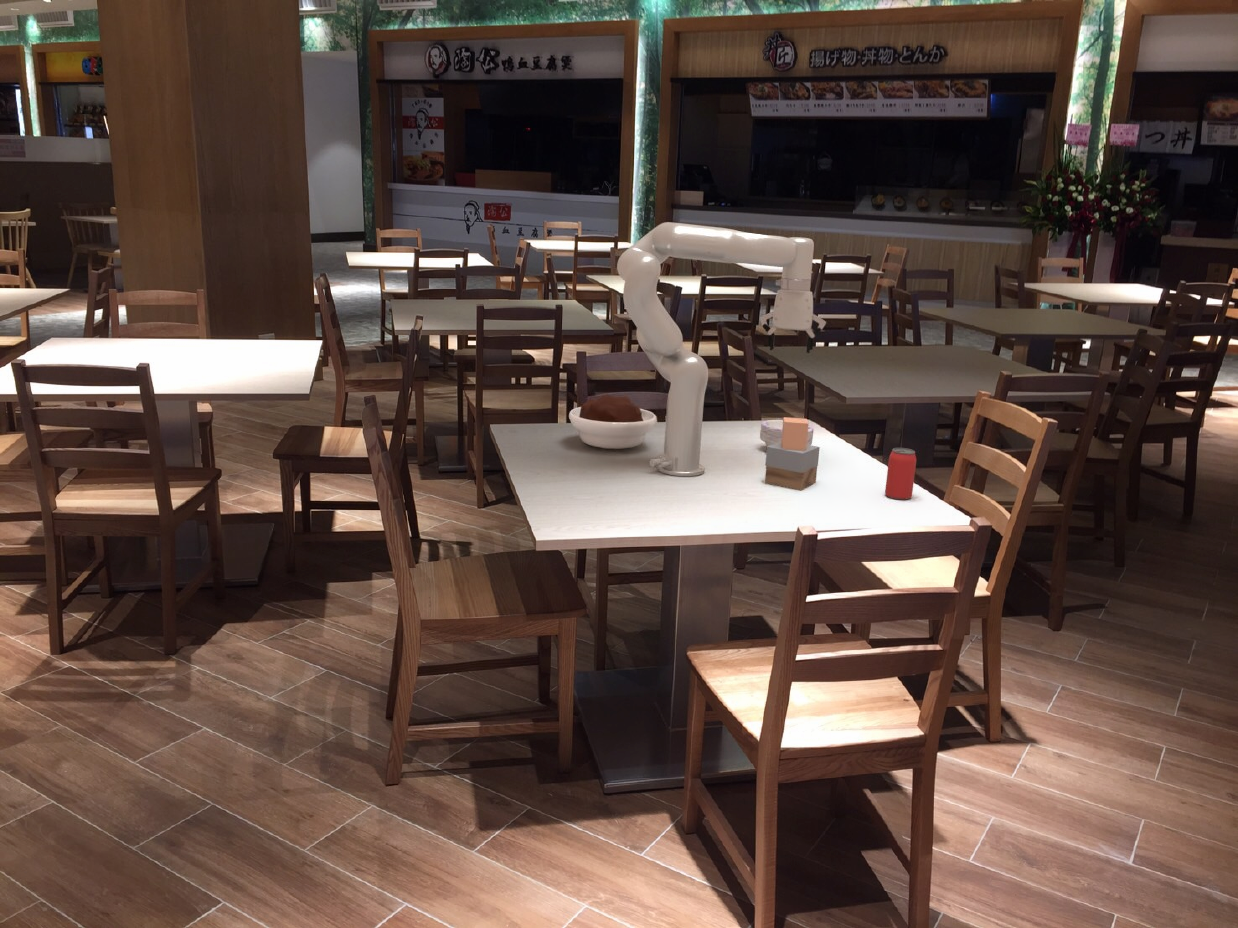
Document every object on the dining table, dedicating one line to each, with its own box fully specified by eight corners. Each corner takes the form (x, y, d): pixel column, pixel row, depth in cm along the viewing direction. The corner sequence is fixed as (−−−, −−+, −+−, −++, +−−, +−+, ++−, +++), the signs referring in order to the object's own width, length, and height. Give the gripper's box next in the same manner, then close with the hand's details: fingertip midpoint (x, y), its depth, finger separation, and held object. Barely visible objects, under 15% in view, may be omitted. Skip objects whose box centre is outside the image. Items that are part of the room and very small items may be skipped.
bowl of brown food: (610, 432, 313) (613, 383, 309) (672, 448, 296) (675, 397, 293) (550, 443, 296) (551, 391, 292) (611, 461, 279) (614, 406, 275)
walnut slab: (801, 492, 259) (803, 472, 257) (764, 484, 264) (766, 466, 262) (815, 484, 267) (817, 465, 266) (779, 477, 272) (781, 459, 271)
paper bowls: (822, 454, 298) (825, 427, 296) (783, 459, 290) (786, 432, 288) (786, 443, 310) (788, 417, 308) (748, 447, 302) (750, 421, 300)
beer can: (882, 492, 261) (887, 446, 258) (908, 493, 261) (913, 448, 258) (887, 499, 254) (893, 452, 251) (914, 501, 254) (920, 454, 251)
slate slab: (800, 472, 258) (802, 453, 256) (765, 465, 263) (766, 446, 262) (817, 465, 265) (819, 446, 264) (782, 458, 271) (784, 440, 270)
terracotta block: (782, 448, 260) (784, 421, 258) (781, 443, 266) (783, 417, 264) (806, 450, 259) (808, 423, 258) (804, 445, 265) (807, 418, 263)
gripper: (761, 284, 267) (755, 350, 271) (828, 289, 263) (822, 355, 267) (764, 282, 274) (758, 346, 278) (829, 287, 270) (823, 351, 274)
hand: (789, 350), depth 272 cm, fingers open, 9 cm apart
